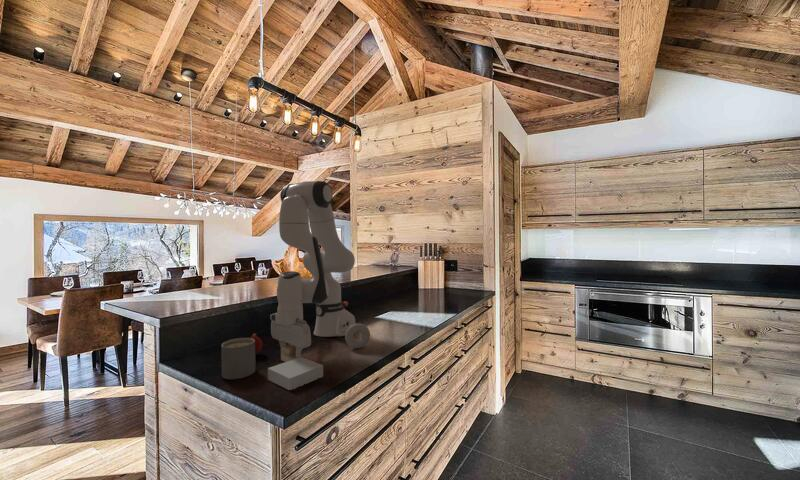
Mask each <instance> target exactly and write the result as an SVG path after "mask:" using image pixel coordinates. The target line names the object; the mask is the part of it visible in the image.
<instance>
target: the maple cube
mask: <svg viewBox="0 0 800 480" xmlns="http://www.w3.org/2000/svg"><path fill="white" fill-rule="evenodd" d="M296 350H297V349H296V346H294V345H291V344H288V343H287V344H286V345H284V346H280V361H283V363H285V362H287V361H290V360H293V359H296V357H294V353H295V352H296Z"/></svg>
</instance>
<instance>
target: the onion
mask: <svg viewBox="0 0 800 480" xmlns="http://www.w3.org/2000/svg"><path fill="white" fill-rule="evenodd" d="M250 338H252V339H254V340H255V356H256V355H257V354H258V353H259V352H260V351H261V350H262V349H263V341H262V339H261V338H260V337H259V336H257V334H256V333H253V334H252V335H251V336H250Z"/></svg>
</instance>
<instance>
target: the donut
mask: <svg viewBox="0 0 800 480" xmlns="http://www.w3.org/2000/svg"><path fill="white" fill-rule="evenodd" d="M357 333H360V334H361V337H360V338H359V339H356V338H355V337H354V336H355V334H357ZM344 338H345V342H346V344H347V345H348V346H349V347H350V348H352V349H357V348H358V349H362V348H364V347H365V346H366V345H368V343H369V342H370V338H371V332H370V329H369V327H368V326H366V324H363V323H360V322H358V323H356V324H353V325H351V326H350V327H349V328H348V329H347V331H346V334H345V335H344Z"/></svg>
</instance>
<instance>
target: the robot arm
mask: <svg viewBox="0 0 800 480" xmlns="http://www.w3.org/2000/svg"><path fill="white" fill-rule="evenodd" d="M332 200H333V190H332V187H331V185H330V184H329V183H328V182H326V181H323V180H317V181H313V180H311V181H309V180H308V181H306V180H305V181H302V182H297V183H288V184H286V185H284V186H283V187H282V189H281V191H280V201H281V204H280V210H279V216H278V217H279V219H278V227H279V228H278V229H279V230H278V231H279V236H280V239H281V240H282V241H283V242H284V244H286V245H288V246H290V247H291V248H294V249H297V250H299V251H300V250H301V251H303V252H304V254H303V257H302V264H303V267H304V268H305V269H306V270H307V271H308V272H309V274H310V275H311V276H312V277H307V278H306V277H305V278H302V277H301V275H302V274H301V273H300V272H298V271H293V270H291V271H285V272H282V273H280V274H279V275H278V279H277V287H276V298H277V302H278V306H277V307H276V309H277V311H276V312H275V313H272V314H270V316H269V318H270V321H271V322H270V335H271V337H272V339H273V340H277V341H278V343H279V346H280V347H281V346H284V345H288V344H291V345H294V346H296V349H297V350H296V352H295V353H294V357H296V358H299V357H302V351H303V349H306V348H308V347H310V346H311V345H312V335H311V328H310V325H309V324H308V322H307V320H304V307H303V306H304V305H303V304H315V312H316V313H315V314H316V319H315V327H314V331H313V335H314V336H316V337H324V338H326V337H327V338H330V337H343V336H344V337H345V334H346V331H347V329H348V328H349V327H350V326H351V325H353V324H357V323H356V318H355V316H354V314H352V312H349V310H346V309H345V307H348V305H349V302H348V301H342V287H341V284H340V282H338V281H337V280H336V279H335V278H334V277H333V275H332V273H336V274H342V273H347V272H351V271H352V269H353V268H354V267H355V263H356V259H355V258H356V257H355V254H353V252H352V251H351V250H350V249H348V248H347V247H346V246H345V245H344V243H342V241H341V240H340V237H339V234H338V231H337V227H336V223H335V222H336V221H335V216H334V211H333V207H332V204H331V202H332ZM320 246H321V247H320Z"/></svg>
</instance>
